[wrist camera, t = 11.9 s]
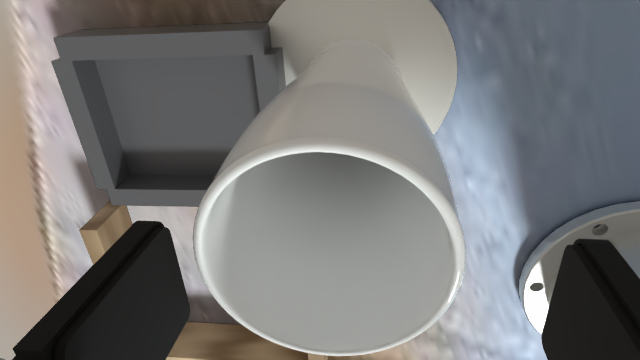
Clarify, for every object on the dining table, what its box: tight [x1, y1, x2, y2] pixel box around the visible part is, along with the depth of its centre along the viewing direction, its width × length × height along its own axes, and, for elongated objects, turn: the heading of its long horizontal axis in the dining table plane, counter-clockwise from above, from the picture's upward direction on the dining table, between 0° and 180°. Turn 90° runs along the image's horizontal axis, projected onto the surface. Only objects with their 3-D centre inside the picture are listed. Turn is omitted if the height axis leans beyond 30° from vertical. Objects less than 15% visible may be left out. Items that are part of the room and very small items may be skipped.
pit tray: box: [51, 22, 286, 207], centre depth 25 cm, size 12×10×2 cm
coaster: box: [256, 0, 457, 135], centre depth 23 cm, size 11×11×1 cm
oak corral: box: [79, 201, 328, 360], centre depth 31 cm, size 15×13×4 cm
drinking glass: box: [193, 38, 466, 356], centre depth 16 cm, size 7×7×15 cm
